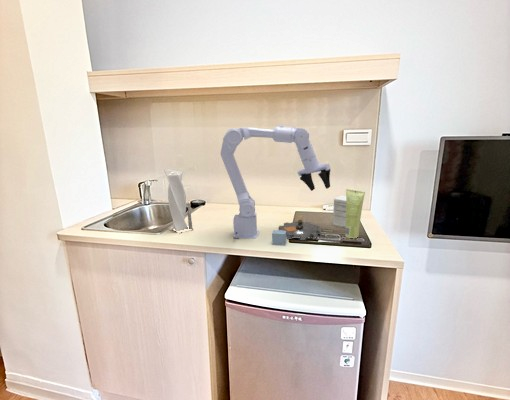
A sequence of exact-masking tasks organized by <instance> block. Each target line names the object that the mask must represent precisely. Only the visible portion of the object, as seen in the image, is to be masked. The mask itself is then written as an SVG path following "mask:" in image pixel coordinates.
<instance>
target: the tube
mask: <svg viewBox="0 0 510 400" xmlns="http://www.w3.org/2000/svg"><path fill="white" fill-rule="evenodd" d="M365 195H366V191H362V190H354V189H349V188H348V189H347V188H346V189H345V196H346V227H345V235H344V236H346V237H349V238H357V237H358V238H359V236H360V234H359V233H360V227H361V219H362V218H361V217H362V211H363V204H364V201H365V200H364V199H365ZM346 237H345V238H346ZM358 238H357V239H358Z"/></svg>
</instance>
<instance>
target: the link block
mask: <svg viewBox="0 0 510 400" xmlns="http://www.w3.org/2000/svg"><path fill="white" fill-rule="evenodd" d="M271 234H272V235H271V238H272V239H271V242H272V243H271V244H272V245H274V246H286V244H287V237H286V231H282V230H279V229H277V230H275V229H273V230H272V232H271Z"/></svg>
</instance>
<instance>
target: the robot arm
mask: <svg viewBox="0 0 510 400" xmlns="http://www.w3.org/2000/svg"><path fill="white" fill-rule="evenodd" d="M251 138H268V139H273V141H274V142H276V143H285V144H286V143H287V144H290V143H291V144H292V143H294V144H295V147H296V148H297V152H298V155H299V158H300V159H301V162H302V165H303V169H299V170H298V171H297V174H298V177H299V179H300V181H302V182H303V183H304V184H305V185H306V186H307V187H308V188H309V190H310V191H311V192H312V191H314V190H315V189H316V187H315V183H314V180H313V177H312V174H313V173H318V172H319V173H318V174H317V175H318V177H320V179H321V180H322V183H323V185H324V188H325V189H329V188H330V187H331V181H330V180H331V179H330V177H331V166H330V164H329V163H326V164H320V163H319V161H318V158H317V156H316V153H315V150H314V148H313V146H312V144H311V141H310V133H309V132H308V131H307V130H306V129H305V128H302V127H301V128H299V127H296V126H292V127H289V126H287V127H286V126H284V125H282V124H280V125H279V126H275V127H274V128H273V129H268V128H267V129H266V128H260V127H258V128H257V127H248V126H247V127H238V128H236V127H233V128H230V129H228V130H227V131H226V133H225V135H224V136H223V138H222V144H221V148H220V149H221V150H220V157H221V160H222V162H223V165H224V167H225V170H226V172H227V175H228V178H229V179H230V182H231V184H232V187H233V190H234V192H235V195H236V198H237V202H238V205H239V209H238V211H239V213H238V214H235V215H234V216H233V219H232V220H233V221H232V222H233V223H232V225H233V227H232V228H233V238H234V239H257V237H258V235H259V234H260V230H258V226H257V225H258V224H257V220H258V219H257V213H256V207H255V205H256V202H255V200H254V198H252V196H251V195H250V192H249V191H248V189H247V186H246V184H245V182H244V179H243V176H242V173H241V170H240V168H239V165H238V162H237V160H236V158H235V156H234V153H235V152H236V150H237V148H238V146H239V145H241V143H242V142H243V139H244V141H246V140H248V139H251Z"/></svg>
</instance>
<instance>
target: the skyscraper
mask: <svg viewBox="0 0 510 400" xmlns="http://www.w3.org/2000/svg"><path fill="white" fill-rule="evenodd" d="M168 171H169V172H170V173H169V174H168V173H167V172H168ZM164 174H165V176H166V179H167V182H168V188H167V200H168V205H169V207H168V208H169V212H170V215H171V218H172V221H173V222H172V223H173V224H172V228H173V229H175V230H176V231H180V230H184V229H188V227H187V226H189V229H194V228H193V221H192V213H191V210H190V203H189V202H187V198H186V191H185V188H184V185H183V182H182V178H183V172H182V171H178V170H177V171H176V170H174V169H165V170H164ZM186 213H187V223H186V221H185V220H186ZM187 224H188V225H187Z"/></svg>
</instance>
